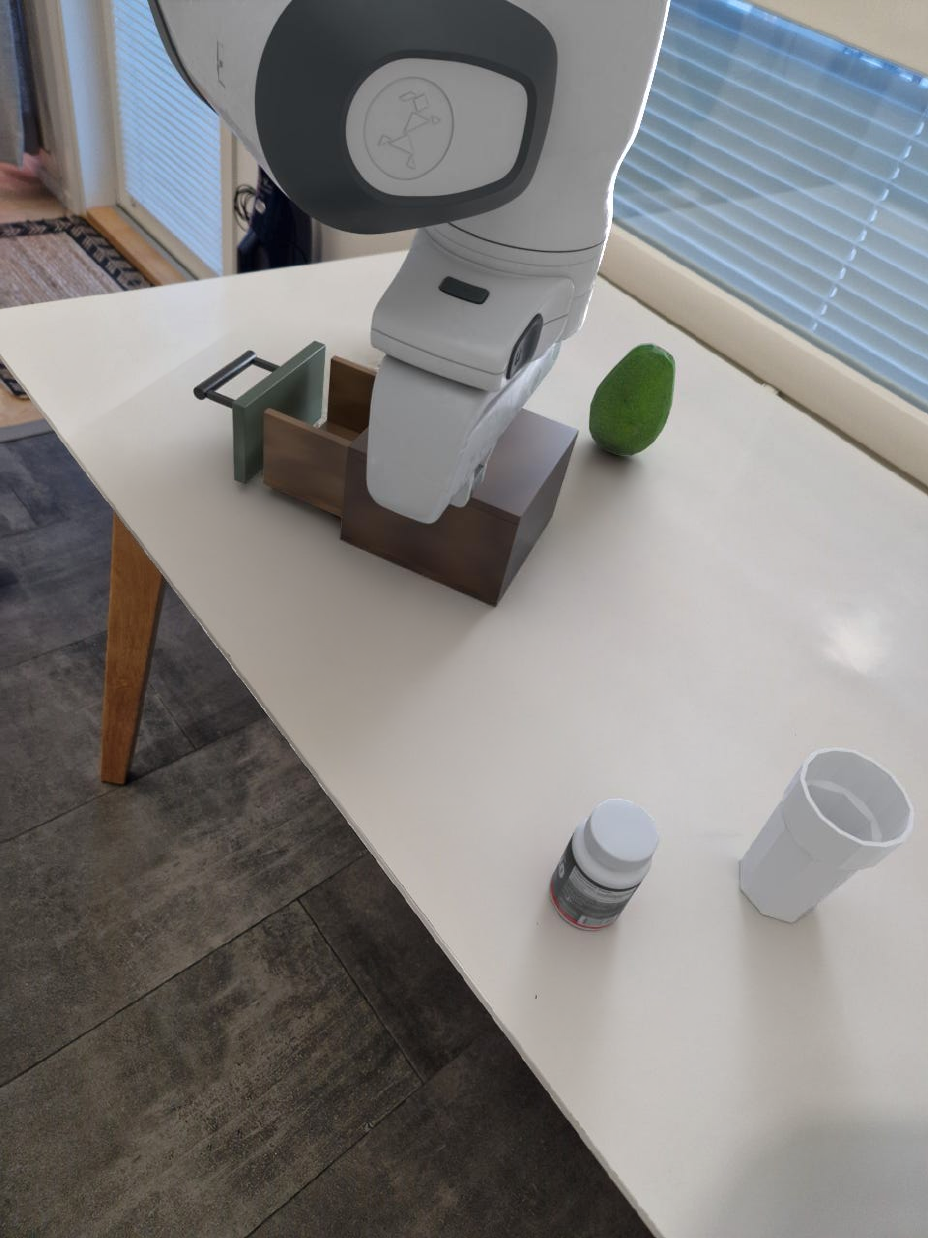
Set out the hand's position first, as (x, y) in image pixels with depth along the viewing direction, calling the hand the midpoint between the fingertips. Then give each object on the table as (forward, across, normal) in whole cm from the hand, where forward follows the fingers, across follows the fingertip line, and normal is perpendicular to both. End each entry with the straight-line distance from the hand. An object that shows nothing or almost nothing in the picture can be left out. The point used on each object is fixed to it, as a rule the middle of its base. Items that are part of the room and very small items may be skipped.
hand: (460, 491), depth 53 cm
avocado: (+18, -38, +4) cm, 43 cm away
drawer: (+16, -17, -19) cm, 30 cm away
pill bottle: (+17, +11, +16) cm, 26 cm away
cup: (+18, +4, +28) cm, 33 cm away
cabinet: (+17, -17, -5) cm, 24 cm away
